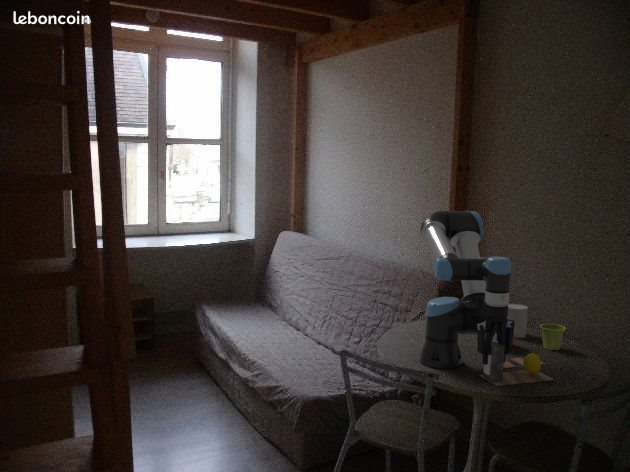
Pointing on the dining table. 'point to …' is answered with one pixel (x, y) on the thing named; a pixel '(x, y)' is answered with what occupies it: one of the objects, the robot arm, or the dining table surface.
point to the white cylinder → (518, 319)
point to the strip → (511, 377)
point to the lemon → (532, 363)
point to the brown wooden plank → (517, 360)
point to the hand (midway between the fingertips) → (493, 372)
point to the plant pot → (552, 336)
